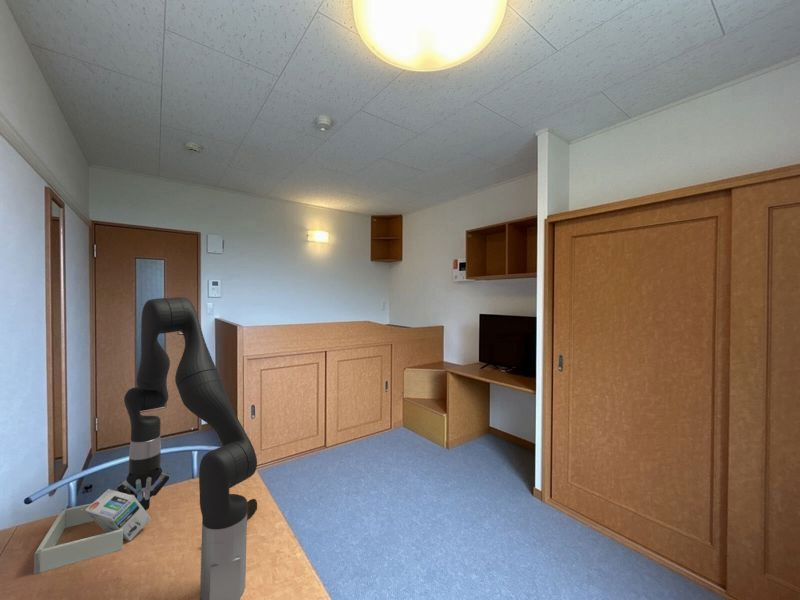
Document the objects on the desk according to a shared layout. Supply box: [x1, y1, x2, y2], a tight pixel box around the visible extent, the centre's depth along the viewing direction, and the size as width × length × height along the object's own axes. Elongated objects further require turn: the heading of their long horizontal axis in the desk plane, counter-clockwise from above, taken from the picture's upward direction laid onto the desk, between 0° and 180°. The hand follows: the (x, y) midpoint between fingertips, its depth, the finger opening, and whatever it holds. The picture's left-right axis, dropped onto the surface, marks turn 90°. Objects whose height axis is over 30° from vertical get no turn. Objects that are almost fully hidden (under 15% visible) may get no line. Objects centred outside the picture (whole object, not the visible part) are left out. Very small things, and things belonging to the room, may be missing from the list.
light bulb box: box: [85, 488, 152, 542], centre depth 95 cm, size 11×7×11 cm, turn 72°
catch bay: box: [33, 502, 124, 575], centre depth 94 cm, size 20×16×5 cm
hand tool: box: [247, 498, 258, 522], centre depth 99 cm, size 19×4×5 cm, turn 161°
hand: (143, 511), depth 100 cm, fingers closed
